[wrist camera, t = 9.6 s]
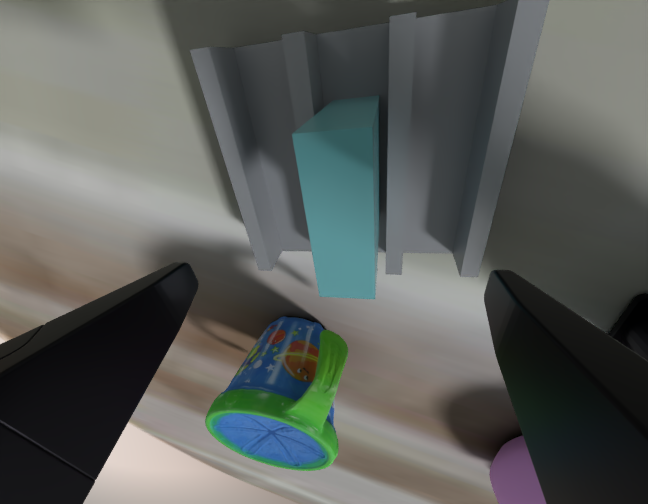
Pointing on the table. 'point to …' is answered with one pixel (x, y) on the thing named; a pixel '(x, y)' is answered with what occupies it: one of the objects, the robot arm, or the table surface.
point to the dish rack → (381, 123)
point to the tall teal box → (342, 194)
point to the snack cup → (284, 398)
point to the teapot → (515, 475)
